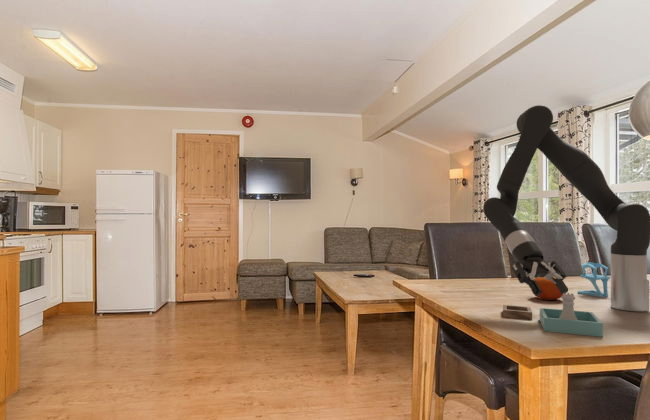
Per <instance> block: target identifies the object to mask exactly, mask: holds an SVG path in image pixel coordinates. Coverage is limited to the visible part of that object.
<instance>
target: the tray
mask: <svg viewBox="0 0 650 420" xmlns="http://www.w3.org/2000/svg"><path fill="white" fill-rule="evenodd" d="M562 309H563V308H560V309H559V308H549V307H547V308H546V307H539V322H540V323H541V326H542V329H543V331H544V332H552V333H559V334H561V333H562V334H570V335H572V334H573V335H580V336H590V337H600V338H603V337H604V323H603V321H601V320H600V319H599V318H598V317H597V315H595V313H594V312H593V311H585V310H584V311H581V310H574V313H575V315H576V316H575V317H576V318H577V319H578V320H569V319H559V316H560V315H561V313H562Z"/></svg>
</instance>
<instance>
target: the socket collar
mask: <svg viewBox="0 0 650 420" xmlns="http://www.w3.org/2000/svg"><path fill="white" fill-rule="evenodd" d="M502 317H503V318H512V319H522V320H523V319H524V320H533V311H532V308H531V306H523V305H512V304H511V305H510V304H509V305H508V304H502Z"/></svg>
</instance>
